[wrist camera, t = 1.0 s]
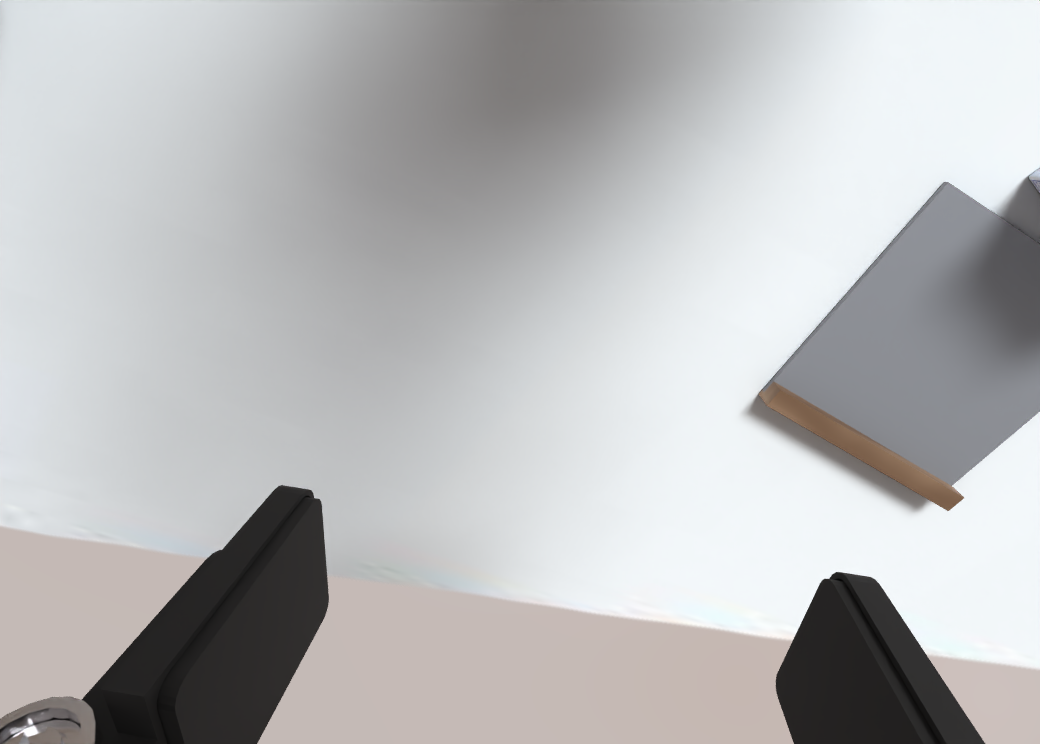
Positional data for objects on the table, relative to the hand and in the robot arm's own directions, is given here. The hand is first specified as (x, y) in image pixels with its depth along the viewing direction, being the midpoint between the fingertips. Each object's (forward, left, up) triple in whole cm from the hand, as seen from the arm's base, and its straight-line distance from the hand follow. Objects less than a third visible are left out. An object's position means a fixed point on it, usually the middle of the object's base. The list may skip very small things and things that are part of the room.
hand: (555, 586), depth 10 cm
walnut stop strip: (0, +24, -28) cm, 37 cm away
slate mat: (-7, +24, -28) cm, 37 cm away
